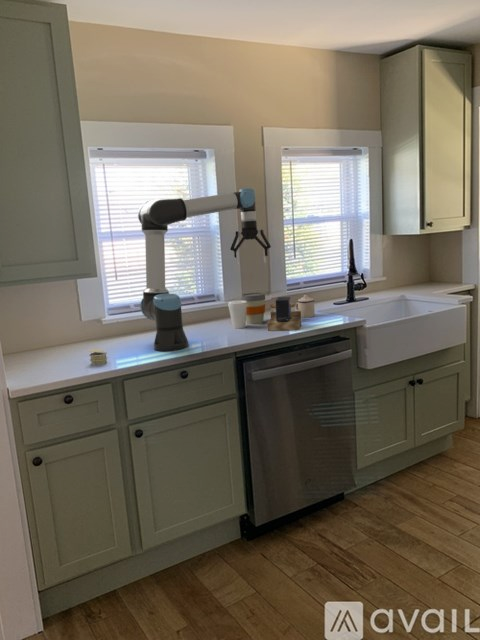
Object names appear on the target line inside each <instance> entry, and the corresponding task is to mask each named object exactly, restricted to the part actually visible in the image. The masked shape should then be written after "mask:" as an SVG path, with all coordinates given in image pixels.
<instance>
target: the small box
mask: <svg viewBox="0 0 480 640" xmlns="http://www.w3.org/2000/svg"><path fill="white" fill-rule="evenodd" d="M274 303H276V321H289V320H290V318H291V297H290V296H281V297H280V296H278V297H277V298H276V299H275V301H274Z"/></svg>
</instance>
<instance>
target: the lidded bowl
mask: <svg viewBox="0 0 480 640" xmlns="http://www.w3.org/2000/svg"><path fill="white" fill-rule="evenodd" d="M290 302H291V301H290ZM295 309H296V303H294V302H291V311H296V310H295ZM270 311H271V312H276V302H273V303H271V304H270ZM271 312H270V313H271Z"/></svg>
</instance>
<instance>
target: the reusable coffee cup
mask: <svg viewBox="0 0 480 640" xmlns="http://www.w3.org/2000/svg"><path fill="white" fill-rule="evenodd" d="M265 300H266V295H265V292H247V293H243V294H241V301H247V308H246V325H247V324H248V325H257V324H262V323H264V320H265V319H264V318H265V317H264V315H265V312H266V303H265Z"/></svg>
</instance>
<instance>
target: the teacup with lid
mask: <svg viewBox="0 0 480 640" xmlns="http://www.w3.org/2000/svg"><path fill="white" fill-rule="evenodd" d="M295 309H296V311H301V319H302V318H303V319H307V318H313V317H315V316H316V315H315V314H316V313H315V299H314V298H312V297H309V296H308V294H304V295H303V297H301V298H299V299H298V300H297V302H296V303H295Z"/></svg>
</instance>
